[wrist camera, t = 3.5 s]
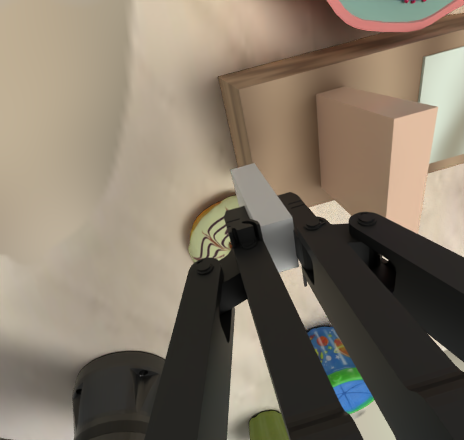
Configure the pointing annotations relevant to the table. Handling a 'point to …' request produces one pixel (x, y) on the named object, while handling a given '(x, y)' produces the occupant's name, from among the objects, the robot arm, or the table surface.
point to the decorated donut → (211, 232)
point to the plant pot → (268, 427)
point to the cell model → (392, 13)
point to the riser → (336, 76)
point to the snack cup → (340, 369)
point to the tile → (375, 152)
